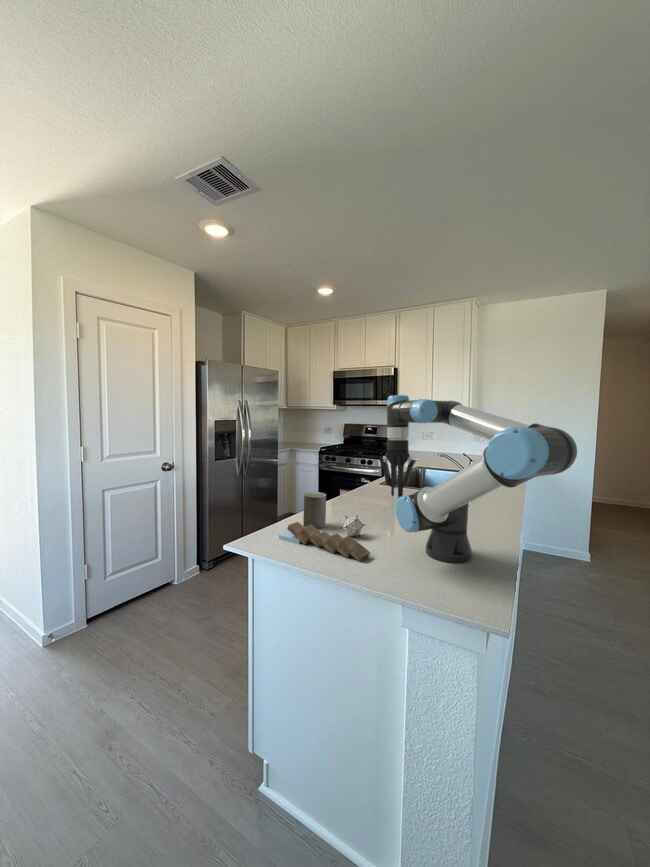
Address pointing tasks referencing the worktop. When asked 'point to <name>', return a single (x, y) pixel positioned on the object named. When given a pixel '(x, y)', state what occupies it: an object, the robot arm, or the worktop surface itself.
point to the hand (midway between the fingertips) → (397, 505)
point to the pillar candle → (314, 509)
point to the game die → (352, 526)
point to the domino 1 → (289, 537)
